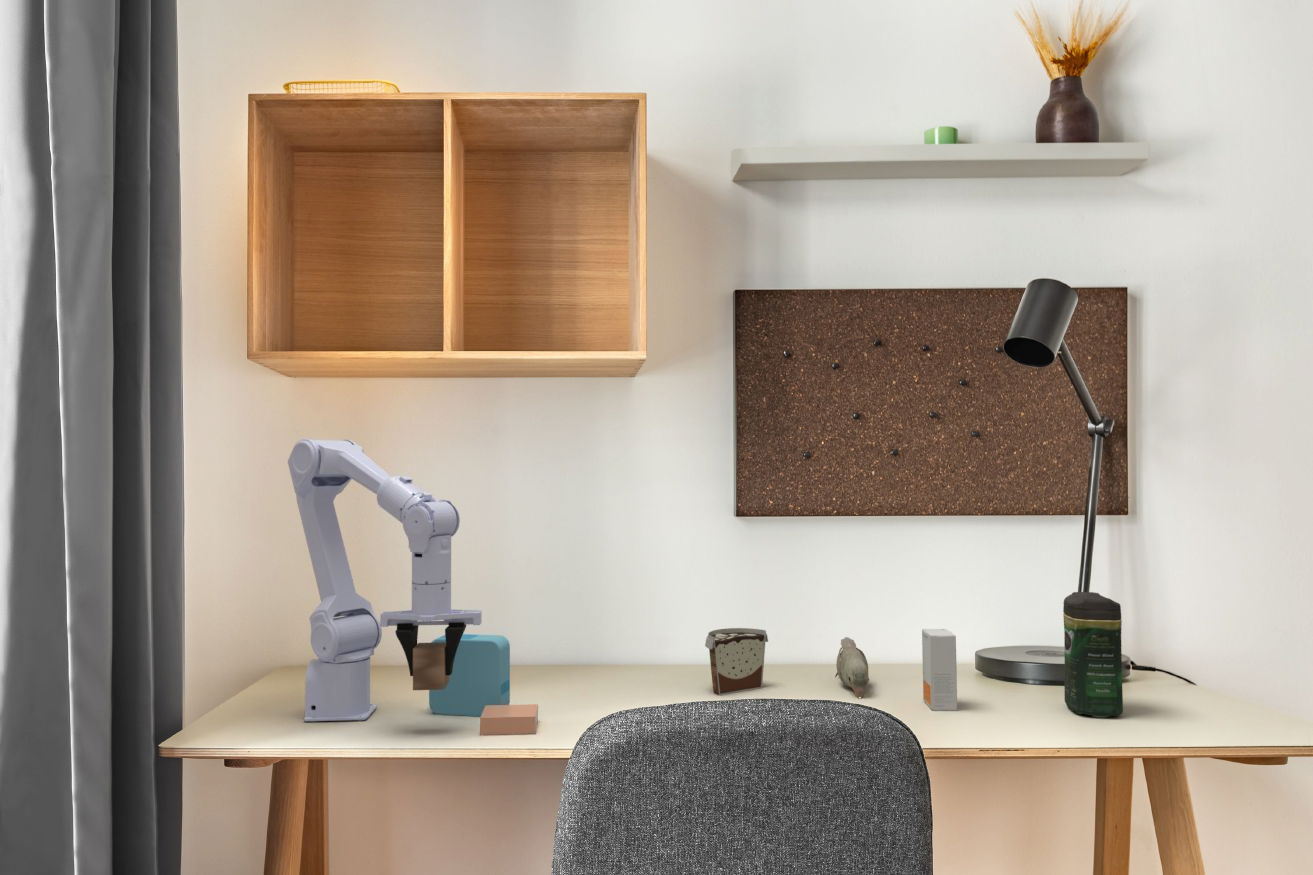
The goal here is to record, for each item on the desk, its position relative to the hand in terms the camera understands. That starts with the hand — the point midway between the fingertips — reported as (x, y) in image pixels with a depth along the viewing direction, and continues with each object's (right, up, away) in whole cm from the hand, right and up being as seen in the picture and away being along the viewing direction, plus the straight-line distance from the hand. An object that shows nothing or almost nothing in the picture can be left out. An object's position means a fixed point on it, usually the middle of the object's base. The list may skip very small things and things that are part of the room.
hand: (431, 674), depth 138 cm
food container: (+46, -9, +25) cm, 54 cm away
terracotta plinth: (+11, -8, +2) cm, 14 cm away
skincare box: (+79, -9, +13) cm, 81 cm away
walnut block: (0, -2, 0) cm, 2 cm away
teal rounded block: (+4, -9, +11) cm, 14 cm away
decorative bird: (+68, -9, +26) cm, 73 cm away
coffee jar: (+103, -8, +9) cm, 103 cm away
